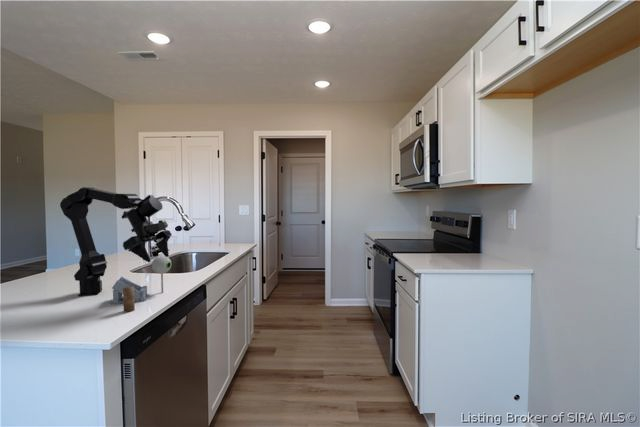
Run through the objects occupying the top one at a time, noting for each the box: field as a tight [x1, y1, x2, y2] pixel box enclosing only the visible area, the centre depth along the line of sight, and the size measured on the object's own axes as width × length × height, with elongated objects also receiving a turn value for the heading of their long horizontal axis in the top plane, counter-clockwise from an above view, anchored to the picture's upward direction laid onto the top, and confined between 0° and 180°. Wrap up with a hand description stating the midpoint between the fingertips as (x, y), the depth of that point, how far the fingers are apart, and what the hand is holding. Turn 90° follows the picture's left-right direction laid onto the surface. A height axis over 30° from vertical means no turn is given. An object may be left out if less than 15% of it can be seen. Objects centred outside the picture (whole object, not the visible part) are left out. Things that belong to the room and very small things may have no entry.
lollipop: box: [151, 255, 172, 294], centre depth 130 cm, size 7×7×15 cm
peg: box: [122, 286, 136, 313], centre depth 109 cm, size 3×3×8 cm
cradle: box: [109, 276, 149, 305], centre depth 121 cm, size 11×7×8 cm, turn 109°
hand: (158, 259), depth 122 cm, fingers open, 9 cm apart
